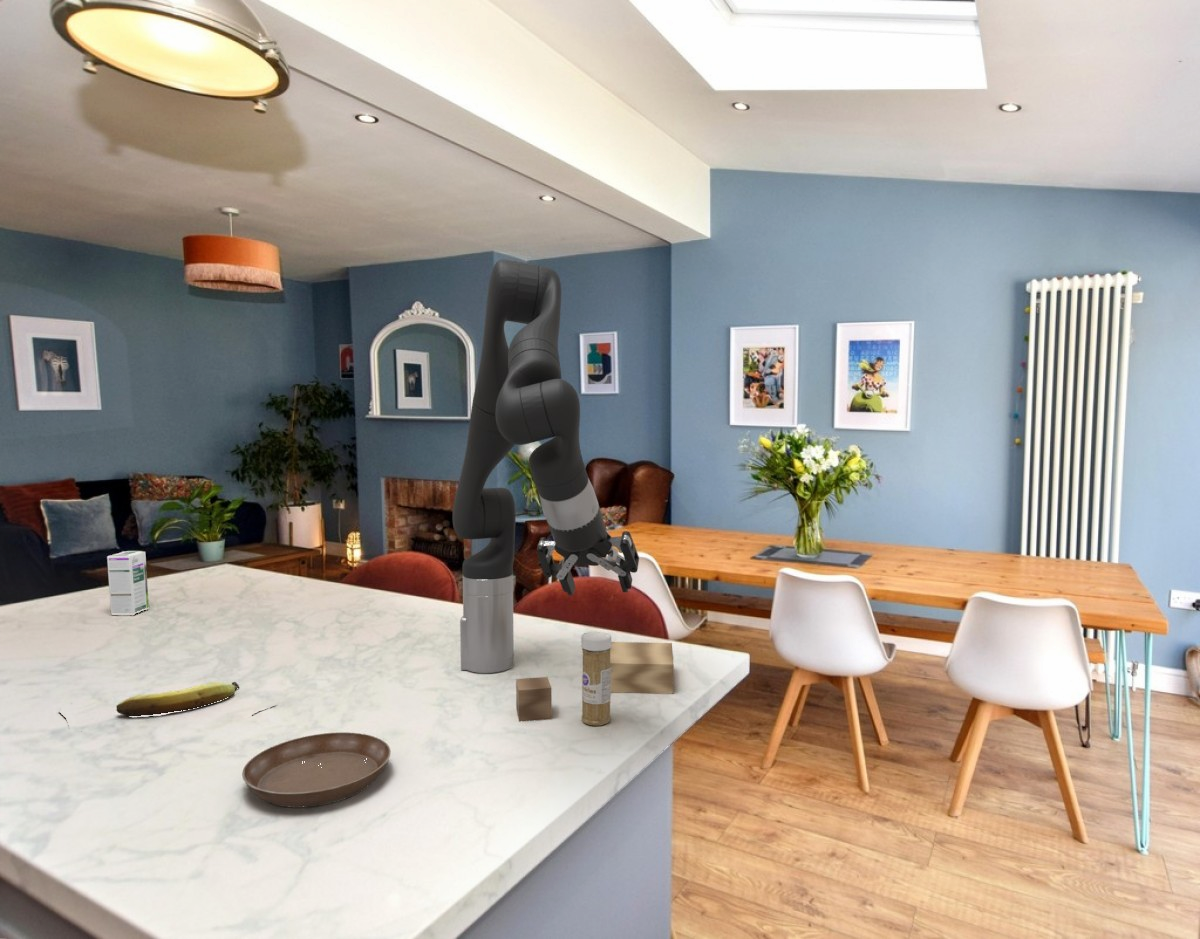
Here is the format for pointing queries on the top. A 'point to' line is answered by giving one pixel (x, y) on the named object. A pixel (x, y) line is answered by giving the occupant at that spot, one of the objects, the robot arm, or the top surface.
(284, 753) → the plant saucer
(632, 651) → the oak block
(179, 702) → the banana
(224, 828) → the top surface
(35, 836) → the top surface
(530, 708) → the walnut cube
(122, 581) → the syrup box
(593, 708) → the sprinkles bottle
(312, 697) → the top surface
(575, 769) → the top surface
